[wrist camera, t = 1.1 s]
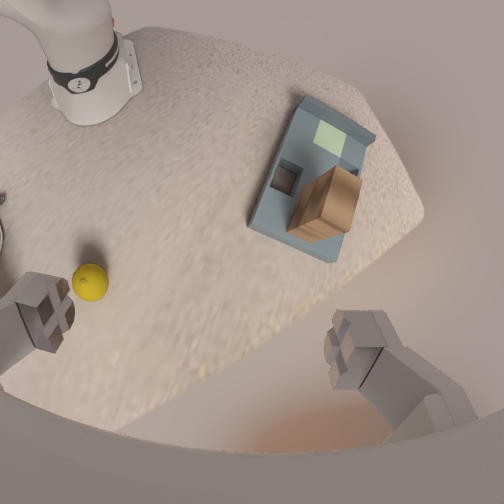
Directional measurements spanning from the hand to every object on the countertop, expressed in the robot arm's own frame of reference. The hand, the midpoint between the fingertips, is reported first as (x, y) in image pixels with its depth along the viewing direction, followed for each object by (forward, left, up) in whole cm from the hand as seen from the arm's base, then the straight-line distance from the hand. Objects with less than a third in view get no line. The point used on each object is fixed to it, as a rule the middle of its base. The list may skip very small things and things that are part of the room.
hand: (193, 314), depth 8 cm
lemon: (-3, -13, -39) cm, 41 cm away
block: (-9, +22, -36) cm, 43 cm away
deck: (-16, +26, -39) cm, 49 cm away
